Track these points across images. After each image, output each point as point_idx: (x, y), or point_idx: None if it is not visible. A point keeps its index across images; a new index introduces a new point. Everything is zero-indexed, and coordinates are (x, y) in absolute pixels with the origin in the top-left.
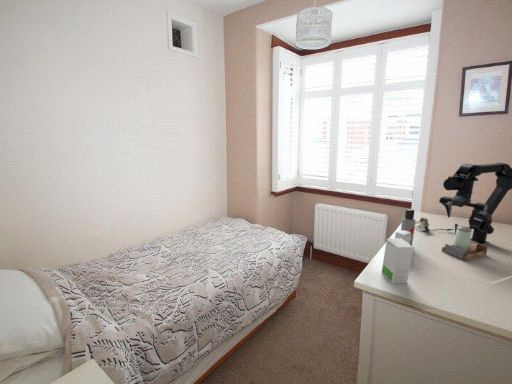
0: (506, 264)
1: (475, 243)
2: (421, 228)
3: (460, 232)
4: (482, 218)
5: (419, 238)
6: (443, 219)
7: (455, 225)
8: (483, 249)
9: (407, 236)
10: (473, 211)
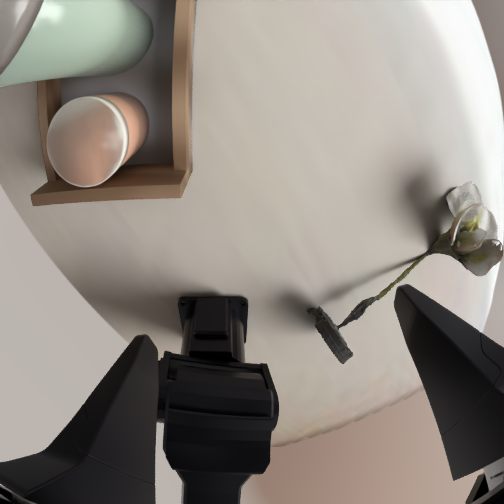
0: (4, 187)
1: (56, 154)
2: (459, 210)
3: None
4: (176, 438)
5: (412, 68)
6: (403, 377)
7: (342, 343)
8: (55, 183)
9: None
10: (29, 476)
